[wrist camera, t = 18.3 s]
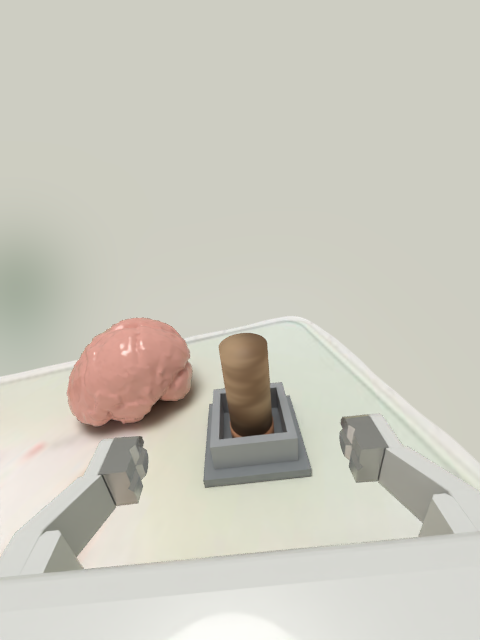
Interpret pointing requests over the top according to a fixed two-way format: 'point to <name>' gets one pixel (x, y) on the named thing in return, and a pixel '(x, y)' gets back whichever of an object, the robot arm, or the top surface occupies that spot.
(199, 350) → the top surface
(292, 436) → the socket block
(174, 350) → the brain
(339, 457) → the top surface
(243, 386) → the brown rounded peg
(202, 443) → the top surface
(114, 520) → the top surface
